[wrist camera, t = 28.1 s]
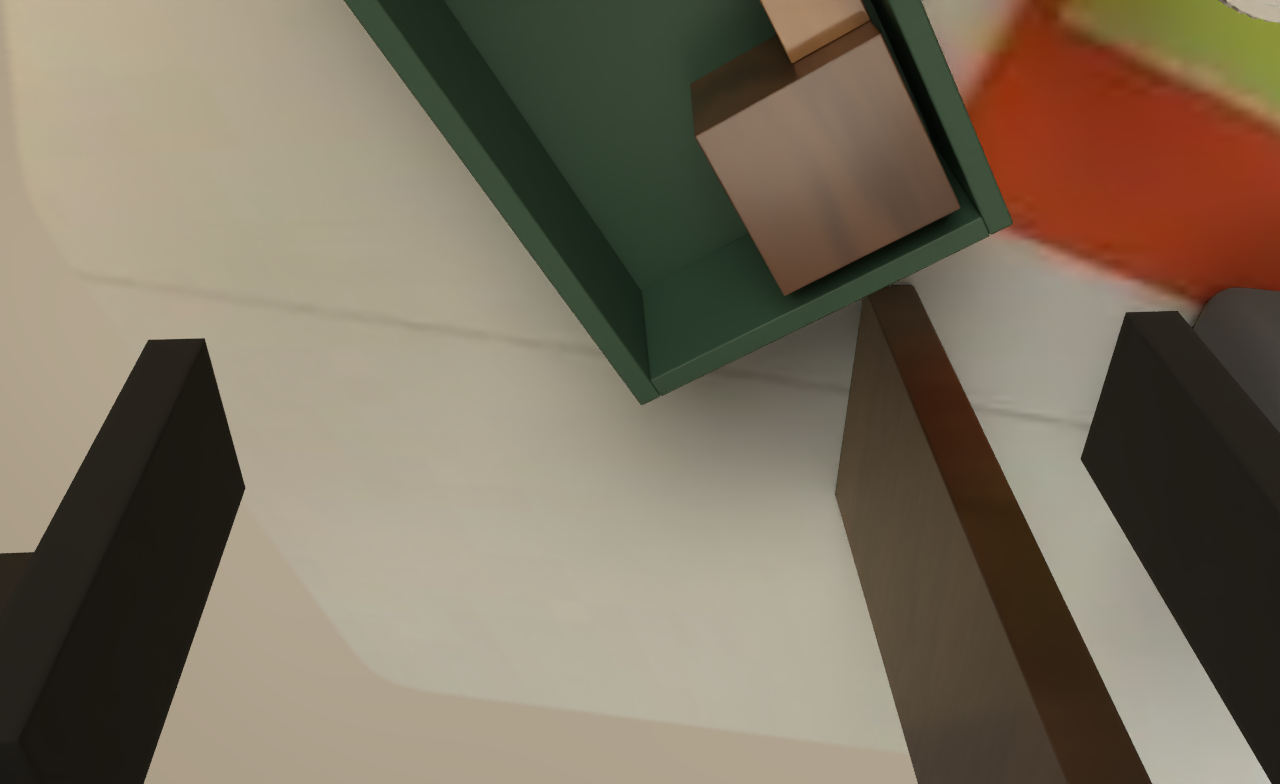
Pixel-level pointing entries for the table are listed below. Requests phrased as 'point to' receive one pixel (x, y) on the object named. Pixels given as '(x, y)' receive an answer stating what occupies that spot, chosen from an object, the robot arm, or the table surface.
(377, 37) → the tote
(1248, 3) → the bottle
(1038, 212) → the table surface
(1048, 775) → the wooden l-shaped bracket
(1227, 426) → the robot arm
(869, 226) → the mallet
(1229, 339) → the storage bin
